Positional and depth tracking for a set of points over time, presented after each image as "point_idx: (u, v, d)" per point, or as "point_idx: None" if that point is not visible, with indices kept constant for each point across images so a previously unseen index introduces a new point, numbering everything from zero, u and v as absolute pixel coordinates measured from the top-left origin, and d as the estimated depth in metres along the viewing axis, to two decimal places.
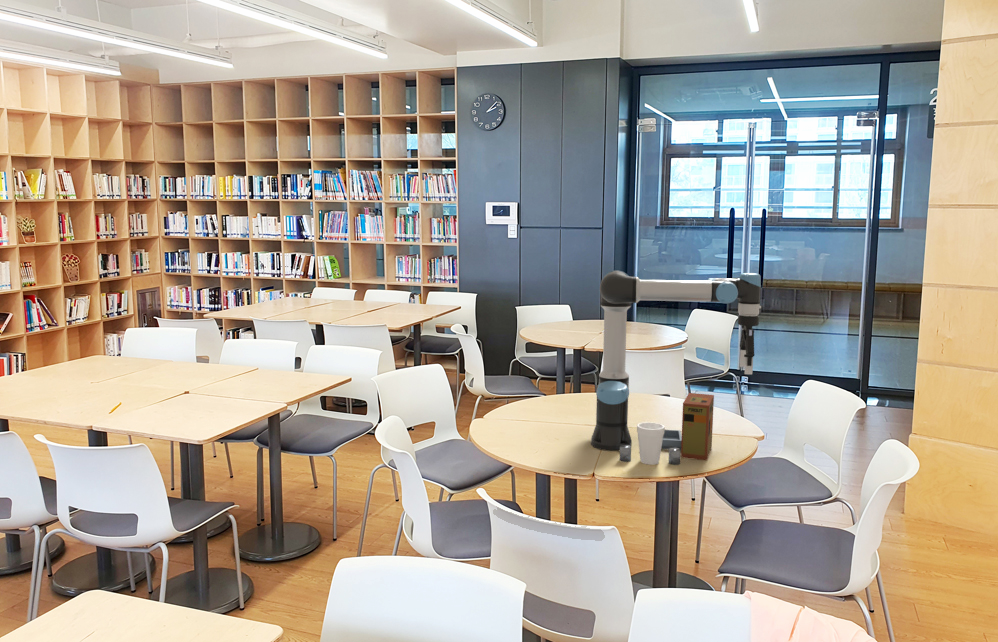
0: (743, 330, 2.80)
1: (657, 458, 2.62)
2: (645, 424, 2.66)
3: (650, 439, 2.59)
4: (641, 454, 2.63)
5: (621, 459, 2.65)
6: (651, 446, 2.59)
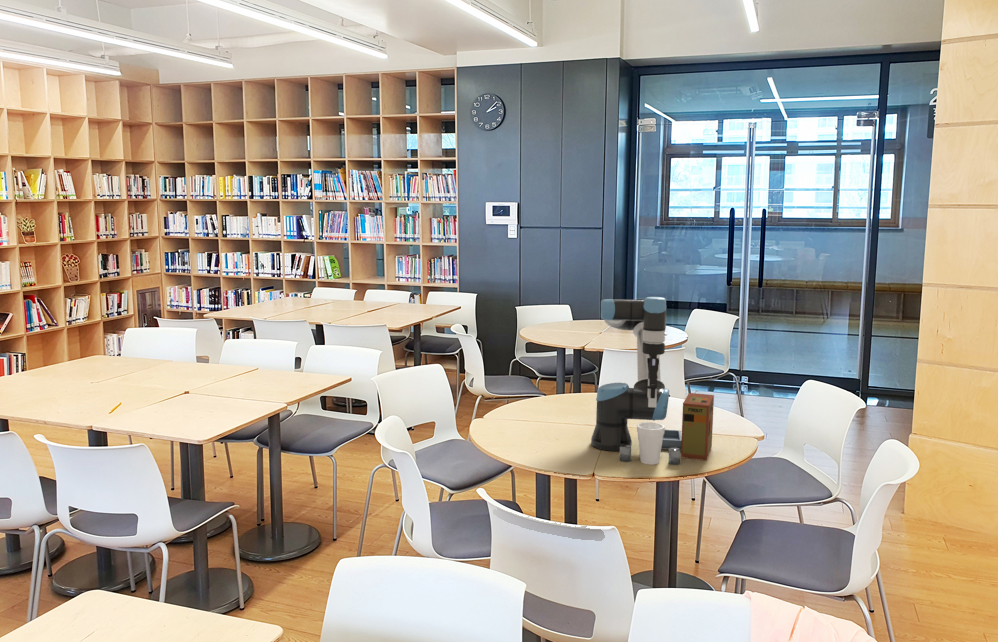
0: (648, 359, 2.58)
1: (657, 458, 2.62)
2: (645, 424, 2.66)
3: (650, 439, 2.59)
4: (641, 454, 2.63)
5: (621, 459, 2.65)
6: (651, 446, 2.59)
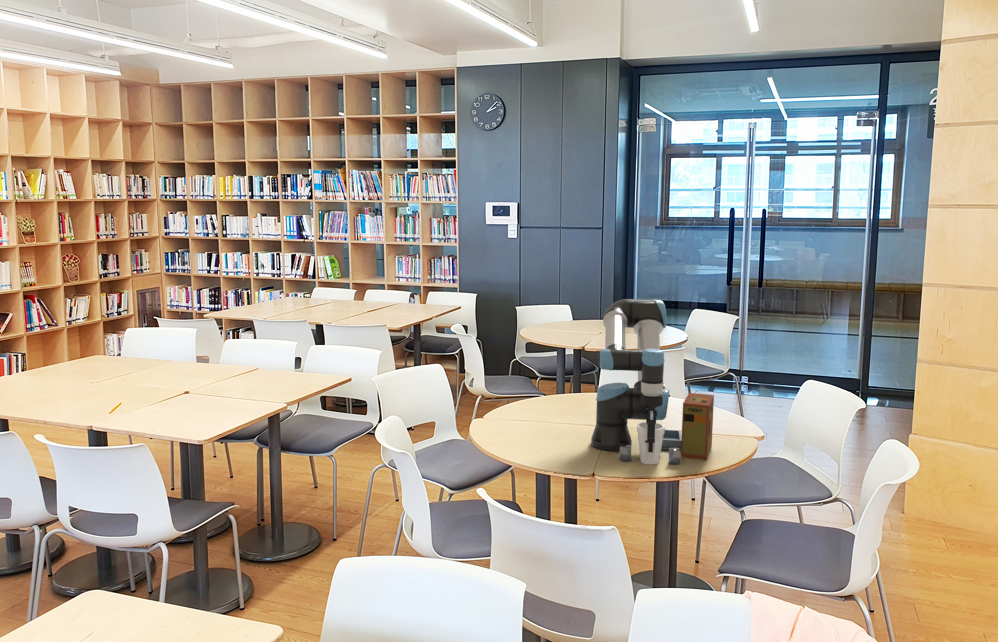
0: (646, 410, 2.61)
1: (657, 458, 2.62)
2: (645, 424, 2.66)
3: None
4: (641, 454, 2.63)
5: (621, 459, 2.65)
6: None
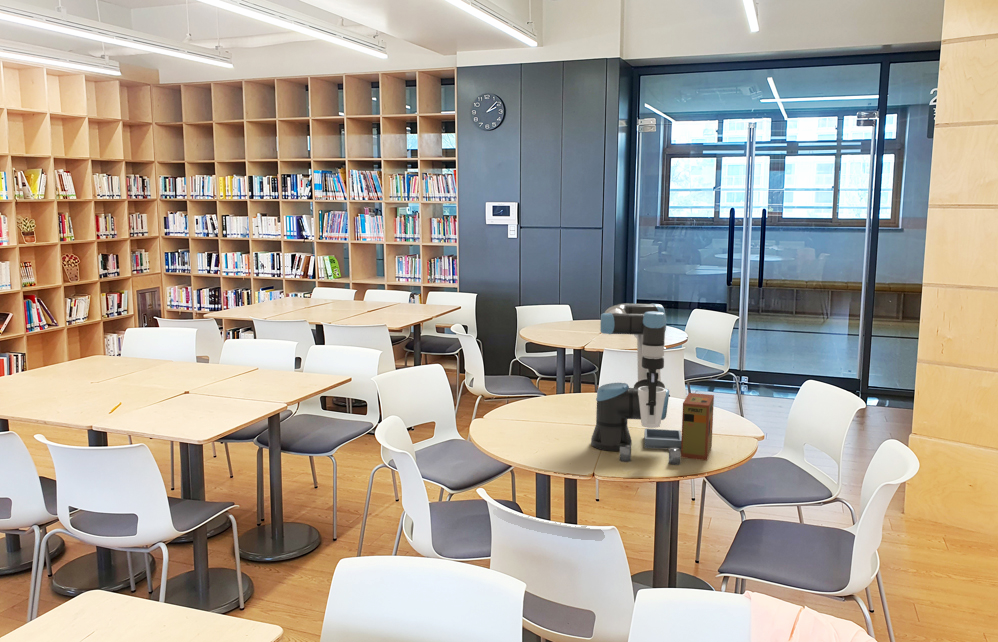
0: (647, 373, 2.59)
1: (658, 421, 2.60)
2: (646, 388, 2.65)
3: None
4: (642, 418, 2.61)
5: (621, 459, 2.65)
6: None
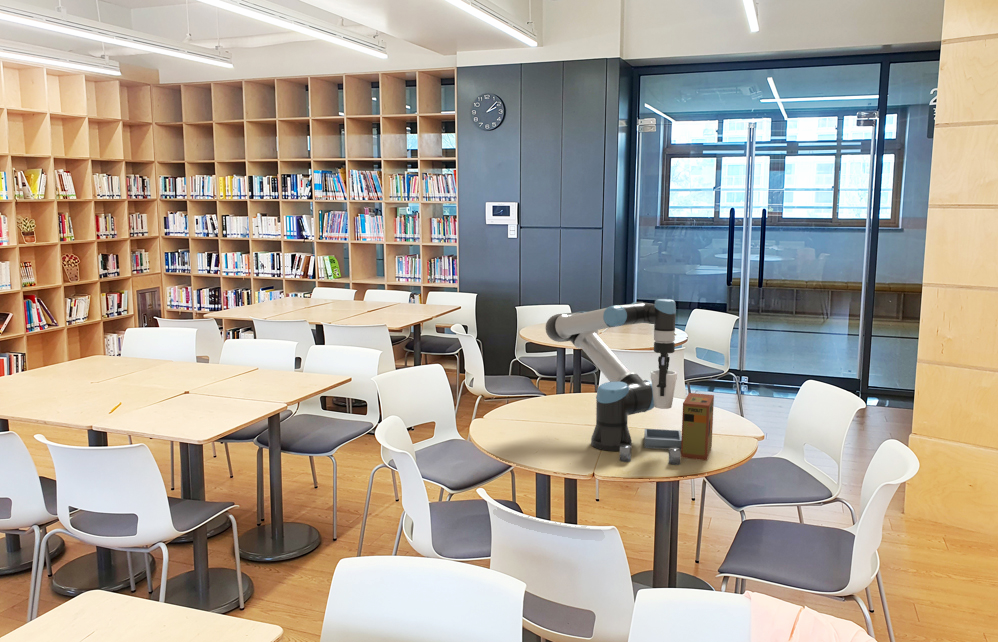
0: None
1: (669, 403, 2.75)
2: None
3: None
4: (654, 399, 2.77)
5: (621, 459, 2.65)
6: None
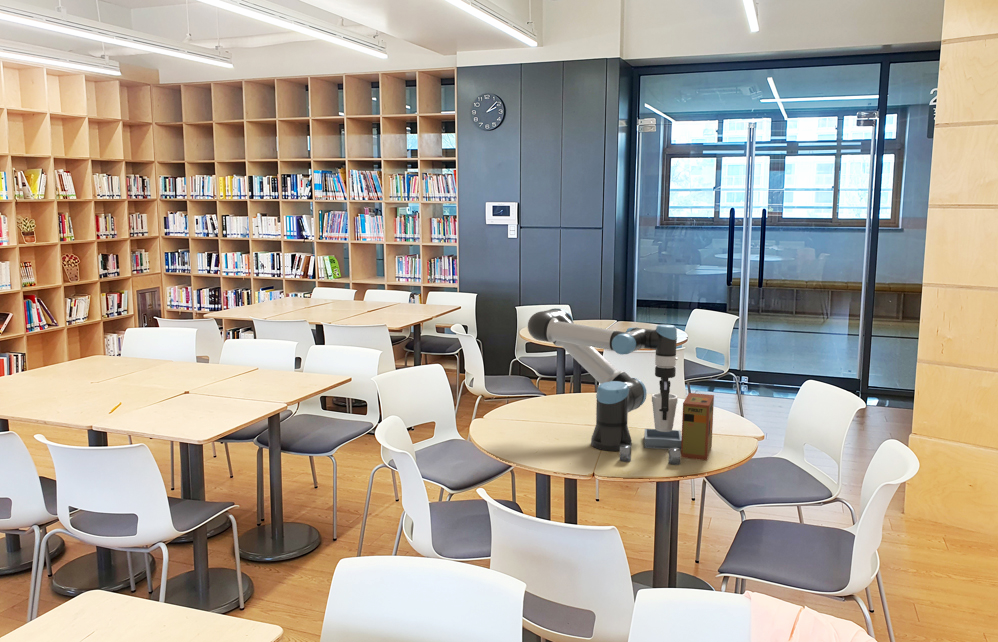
0: (660, 382, 2.81)
1: (671, 426, 2.82)
2: (659, 395, 2.87)
3: None
4: (656, 422, 2.83)
5: (621, 459, 2.65)
6: None
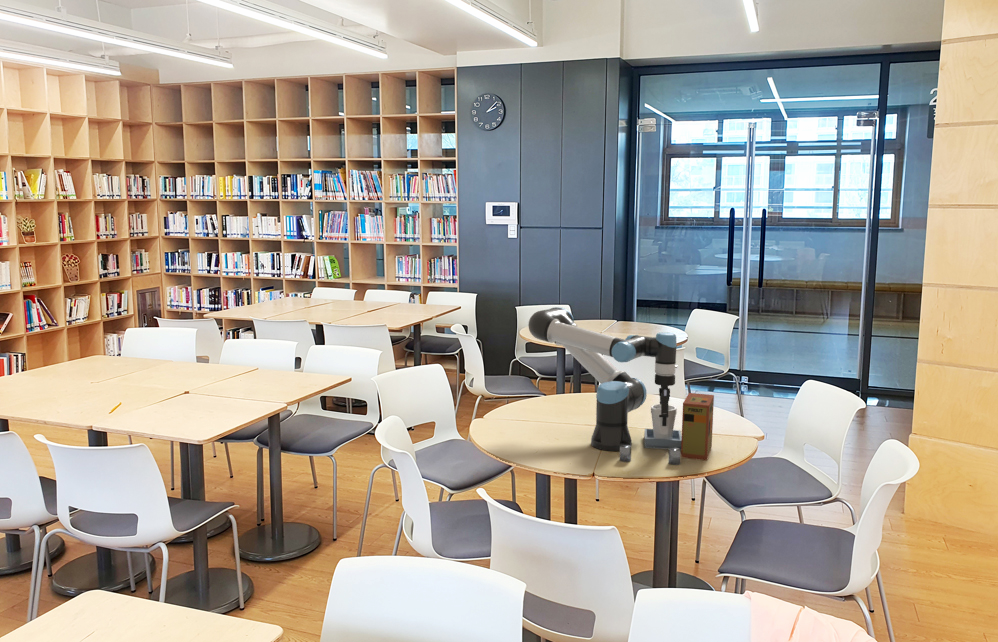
0: (659, 389, 2.81)
1: (670, 437, 2.83)
2: (658, 406, 2.87)
3: None
4: (655, 433, 2.84)
5: (621, 459, 2.65)
6: None
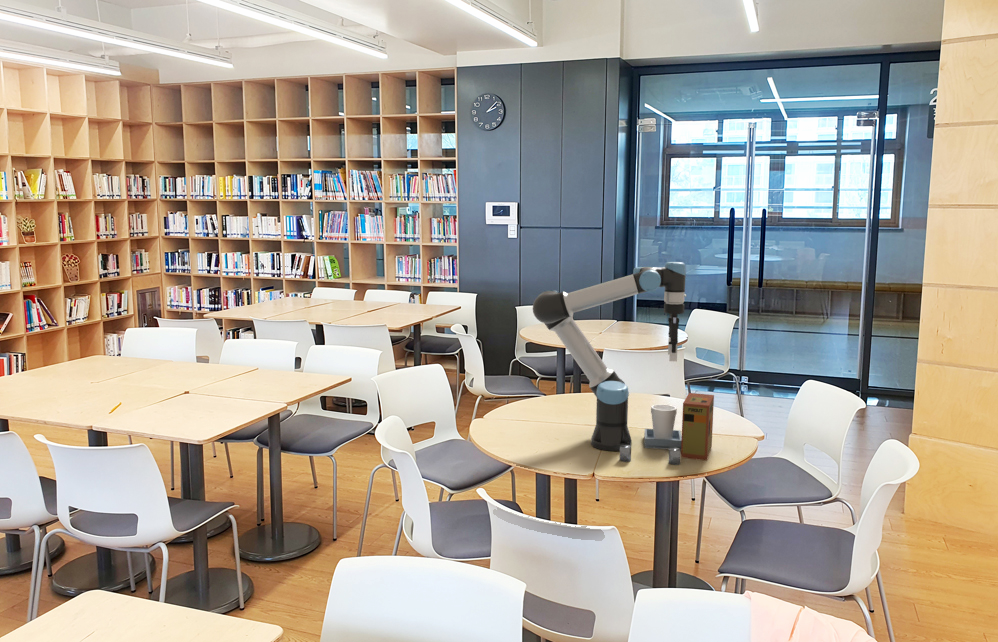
0: (669, 318, 2.85)
1: (670, 437, 2.83)
2: (658, 406, 2.87)
3: (663, 419, 2.80)
4: (655, 433, 2.84)
5: (621, 459, 2.65)
6: (664, 426, 2.81)
